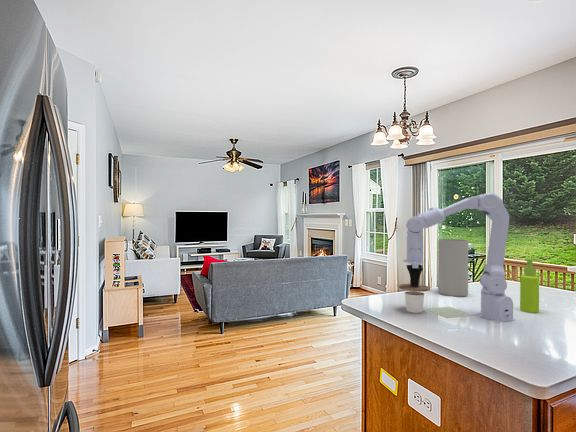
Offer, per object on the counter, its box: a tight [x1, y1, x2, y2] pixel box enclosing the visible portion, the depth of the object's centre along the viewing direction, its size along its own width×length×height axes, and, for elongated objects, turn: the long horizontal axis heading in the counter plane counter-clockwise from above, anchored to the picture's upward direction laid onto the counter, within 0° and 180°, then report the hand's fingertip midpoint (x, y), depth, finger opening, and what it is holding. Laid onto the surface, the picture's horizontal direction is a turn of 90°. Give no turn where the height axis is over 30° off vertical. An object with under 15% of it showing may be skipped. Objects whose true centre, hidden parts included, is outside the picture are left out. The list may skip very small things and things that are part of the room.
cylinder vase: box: [437, 238, 469, 298], centre depth 157 cm, size 12×12×25 cm
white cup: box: [404, 290, 425, 314], centre depth 127 cm, size 7×7×7 cm
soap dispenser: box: [519, 257, 543, 314], centre depth 129 cm, size 6×7×20 cm
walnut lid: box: [398, 280, 431, 293], centre depth 127 cm, size 11×11×3 cm
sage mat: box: [424, 306, 474, 319], centre depth 126 cm, size 12×12×1 cm
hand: (414, 284), depth 127 cm, fingers closed on walnut lid, 3 cm apart
